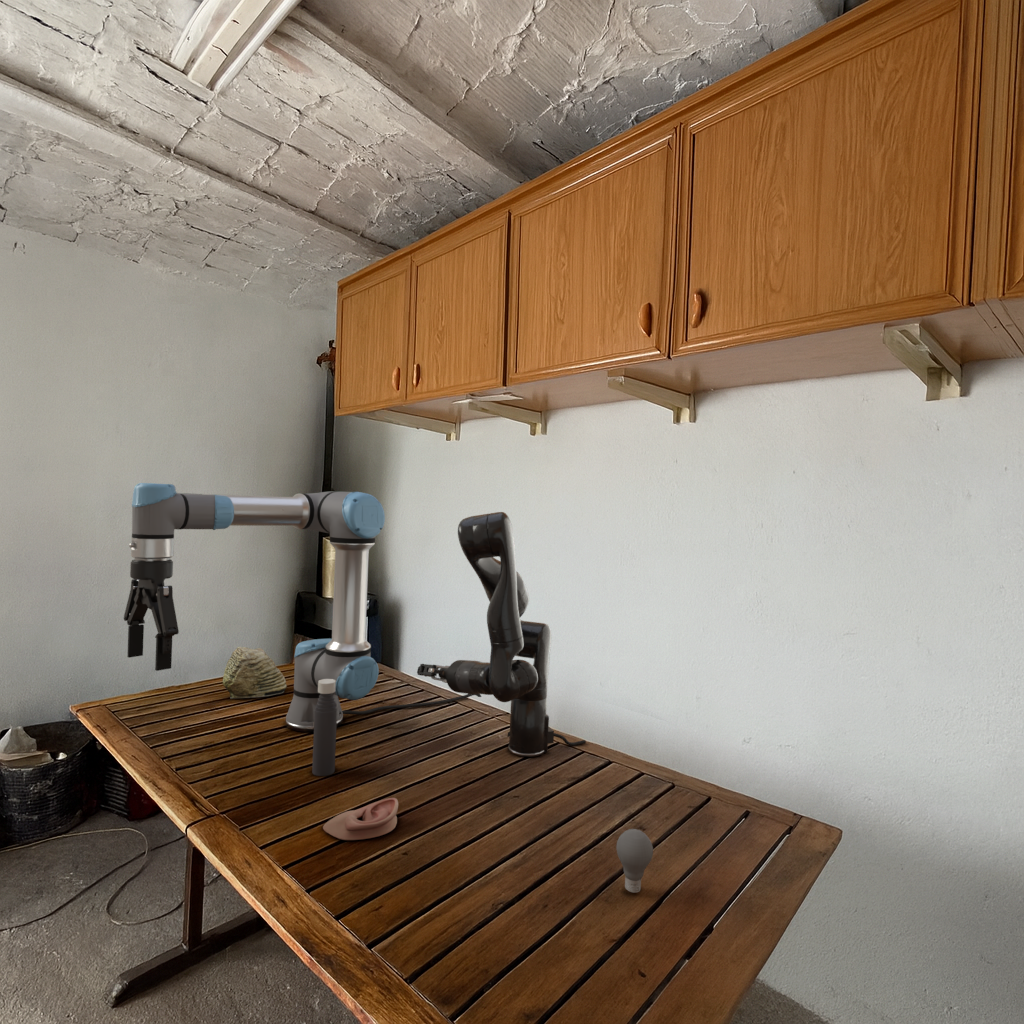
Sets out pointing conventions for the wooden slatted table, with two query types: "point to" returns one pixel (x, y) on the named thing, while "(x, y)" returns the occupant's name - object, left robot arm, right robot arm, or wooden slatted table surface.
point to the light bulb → (634, 857)
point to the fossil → (252, 674)
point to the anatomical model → (364, 821)
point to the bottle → (324, 735)
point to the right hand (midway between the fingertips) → (433, 673)
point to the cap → (326, 686)
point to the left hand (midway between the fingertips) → (148, 662)
